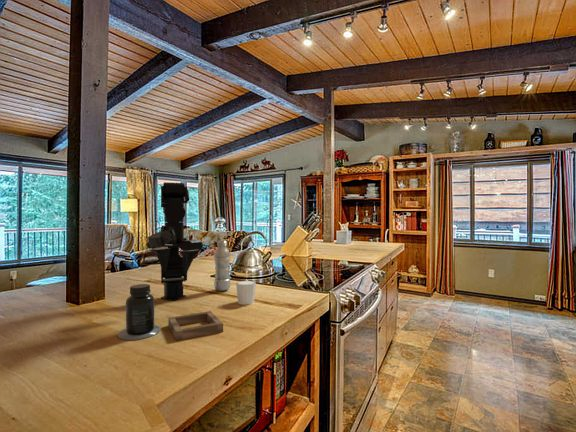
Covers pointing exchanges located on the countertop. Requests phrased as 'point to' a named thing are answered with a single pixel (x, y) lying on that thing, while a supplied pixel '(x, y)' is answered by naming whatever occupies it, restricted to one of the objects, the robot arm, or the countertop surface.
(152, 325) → the supplement bottle
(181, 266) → the robot arm
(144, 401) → the countertop surface
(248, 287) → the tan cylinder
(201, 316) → the brown flat square frame
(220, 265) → the plastic bottle
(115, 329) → the countertop surface
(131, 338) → the slate coaster
